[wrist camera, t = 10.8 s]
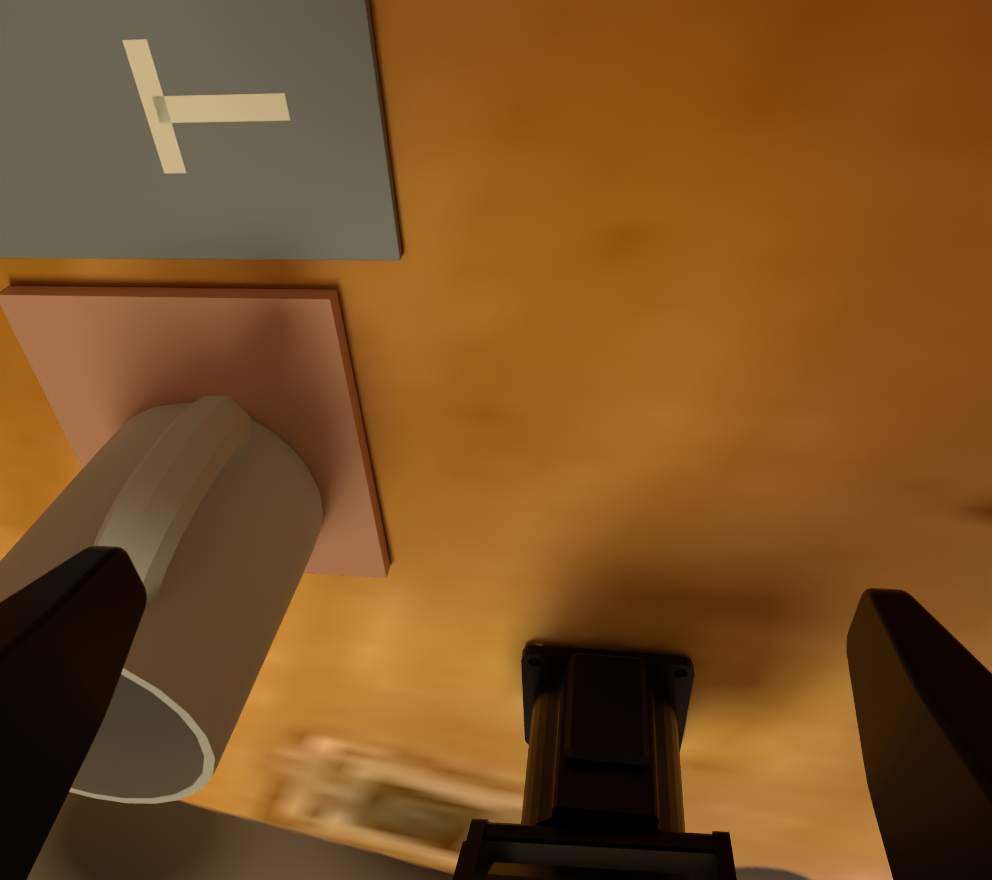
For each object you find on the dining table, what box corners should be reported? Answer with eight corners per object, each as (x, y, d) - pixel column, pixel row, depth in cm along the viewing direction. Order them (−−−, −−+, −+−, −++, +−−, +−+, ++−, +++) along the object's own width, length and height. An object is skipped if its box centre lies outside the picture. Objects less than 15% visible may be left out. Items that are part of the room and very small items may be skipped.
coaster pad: (390, 565, 27) (386, 578, 27) (137, 550, 28) (128, 561, 28) (336, 289, 20) (330, 299, 20) (8, 285, 22) (-5, 294, 21)
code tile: (402, 255, 20) (399, 260, 19) (-70, 253, 21) (-78, 257, 21) (312, -427, 12) (305, -434, 12) (-391, -344, 14) (-409, -347, 14)
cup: (105, 511, 26) (-80, 744, 19) (140, 281, 20) (-109, 497, 13) (297, 586, 27) (189, 830, 20) (384, 389, 22) (272, 639, 15)
